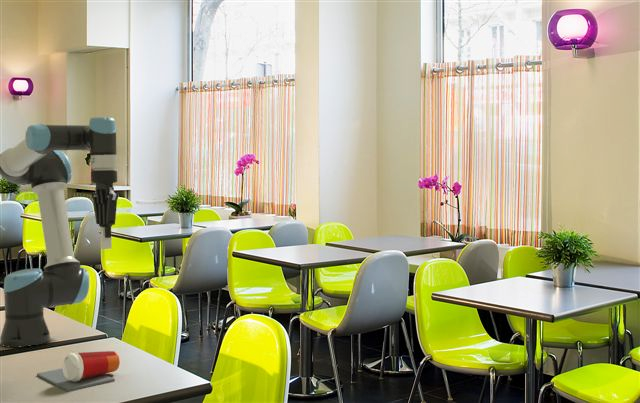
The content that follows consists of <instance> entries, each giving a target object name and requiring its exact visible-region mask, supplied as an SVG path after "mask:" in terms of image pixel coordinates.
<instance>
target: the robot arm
mask: <svg viewBox="0 0 640 403" xmlns="http://www.w3.org/2000/svg"><path fill="white" fill-rule="evenodd" d="M24 138H25V139H23V140H21V142H19V143H18V144H16V146H14V147H10V148H7V149H5V150H4V151H2V152H1V153H0V176H1V177H2V178H3V179H4V180H6V181H7V182H9V183H11V184H15V185H30V186H31V192H33V193H34V194H36V195H37V200H38V207H39V214H40V218H41V219H40V220H41V226H42V234H43V238H44V245H45V252H46V258H47V262H46V265H45V266H43V269H42V268H36V267H35V268H34V267H33V268H26V269H25V268H24V269H19V270H17V271H12V272H11V273H9V274H7V275H6V276H5V277H4V282H3V292H4V294H3V295H4V298H3V299H4V314H5V315H4V317H5V318H4V319H5V320H4V325H3V327H2V330H1V334H0V344H1V345H4V346H9V347H8V348H13V347H17V348H20V347H19V346H29V345H36V346H39V345H38V344H41V345H44V344H47V343H49V342H50V341H51V333H50V331H49V328H48V325H47V323H46V320H45V316H44V309H45V308H53V307H58V306H59V307H60V306H66V305H69V306H71V305H73V304H79V303H82V302H84V300H85V299H86V298H87V296H88V294H89V290H90V289H89V288H90V274H89V272H88V270H87V269H86V268H84V267H81V262H80V260H78V259H77V258H75V254H74V247H73V242H72V234H71V229H70V224H69V217H68V211H67V204H66V196H65V190H66V189H67V187H68V183H70V181H71V180H72V171H73V170H72V165H71V162H70V158H69V157H68V155H67V154H66V153H65V152H64V151H86V152H87V151H88V152H89V151H90V153H89V154H90V158H89V162H90V168H91V169H92V170H91V171H90V181H91V183H92V184H95V192H91V197H92V201H93V208H94V209H93V210H94V216H95V223H96V225H98V226H99V228H100V249H101V250H108V249H113V248H112V245H113V244H112V243H113V242H112V227H113V226H114V225H116V218H117V205H118V198H119V192H117V193H115V187H114V184H116V183H117V182H118V171H117V168H118V156H117V155H118V154H117V126H116V120H115V119H114V118H113V117H110V116H109V117H108V116H107V117H105V116H103V117H102V116H101V117H98V116H97V117H95V116H94V117H91V118H90V119H89V124H88V125H71V124H69V125H68V124H66V125H65V124H64V125H63V124H43V123H39V124H31V125H29V126H28V127H27V129H26V131H25V137H24ZM43 270H44V271H43ZM48 341H49V342H48ZM46 342H47V343H46ZM43 343H44V344H43ZM1 345H0V346H1ZM4 346H3V347H4Z"/></svg>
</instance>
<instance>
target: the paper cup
mask: <svg viewBox="0 0 640 403" xmlns="http://www.w3.org/2000/svg"><path fill="white" fill-rule="evenodd" d="M120 362H121V360H120V357H119V354H118V353H117V352H116V351H113V350H112V351H111V350H110V351H109V350H108V351H107V350H106V351H105V350H104V351H87V352H76V351H72V352H69V354H67V355H66V356H65V357H64V359H63V360H62V368H61V369H63V373H64V376H65V377H66V378H67V379H68V380H71V381H74V382H75V381H79V380H80V379H84V378H88V377H93V376H97V375H102V374H105V375H107V374H110V373H115V371H118V369H119V368H120Z"/></svg>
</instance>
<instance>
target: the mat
mask: <svg viewBox="0 0 640 403" xmlns="http://www.w3.org/2000/svg"><path fill="white" fill-rule="evenodd" d="M36 376H37V377H39V378H41V379H42V380H45V381H47V382H49V383H51V384H53V385H54V386H57V387H58V388H60V389H63V390H64V391H66V392H71V391H75V390H80V389H85V388H89V387H93V386H98V385H102V384H107V383H111V382H112V383H113V382H115V380H116V379H115V378H114V377H111V376H109V375H108V374H102V375H97V376H93V377H88V378H84V379H80V380H79V381H75V382H74V381H71V380H68V379H67V378H66V377H65V376H64V373H63V369H62V368H58V369H57V368H56V369H53V370H48V371H42V372H38V373H37V372H36Z"/></svg>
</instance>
